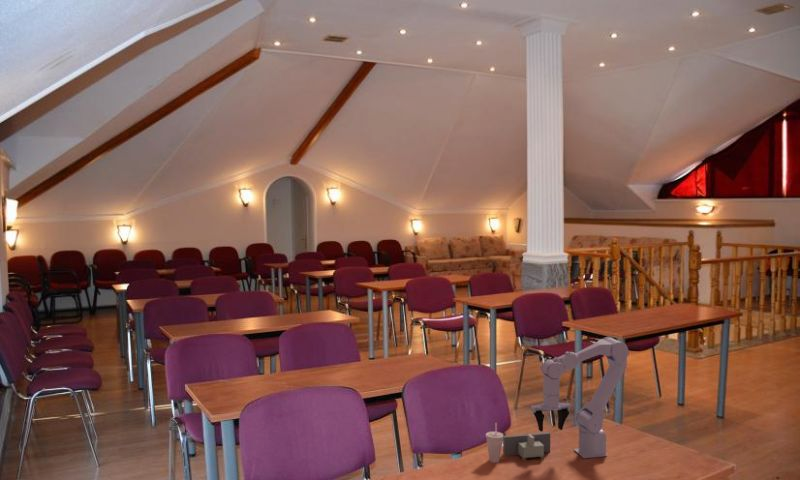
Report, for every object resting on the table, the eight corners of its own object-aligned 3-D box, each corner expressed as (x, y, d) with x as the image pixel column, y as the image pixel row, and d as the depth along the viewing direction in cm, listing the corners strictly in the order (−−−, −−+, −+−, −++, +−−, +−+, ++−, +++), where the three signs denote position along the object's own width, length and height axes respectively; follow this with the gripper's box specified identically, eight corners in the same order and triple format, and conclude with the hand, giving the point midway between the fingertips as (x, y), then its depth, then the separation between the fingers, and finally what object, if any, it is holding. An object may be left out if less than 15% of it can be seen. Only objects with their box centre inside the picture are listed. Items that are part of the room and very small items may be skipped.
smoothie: (502, 464, 244) (503, 426, 243) (484, 463, 245) (484, 425, 244) (503, 457, 250) (503, 420, 249) (486, 456, 252) (486, 419, 250)
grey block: (538, 453, 254) (538, 432, 253) (543, 458, 249) (544, 437, 248) (517, 455, 252) (518, 434, 252) (523, 461, 247) (523, 439, 246)
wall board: (548, 450, 257) (548, 432, 256) (553, 454, 252) (553, 436, 252) (503, 454, 253) (503, 436, 253) (507, 459, 249) (507, 440, 248)
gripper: (536, 398, 243) (536, 435, 244) (574, 395, 246) (573, 432, 247) (529, 392, 250) (528, 428, 251) (566, 389, 253) (565, 425, 254)
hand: (550, 429), depth 249 cm, fingers open, 7 cm apart
